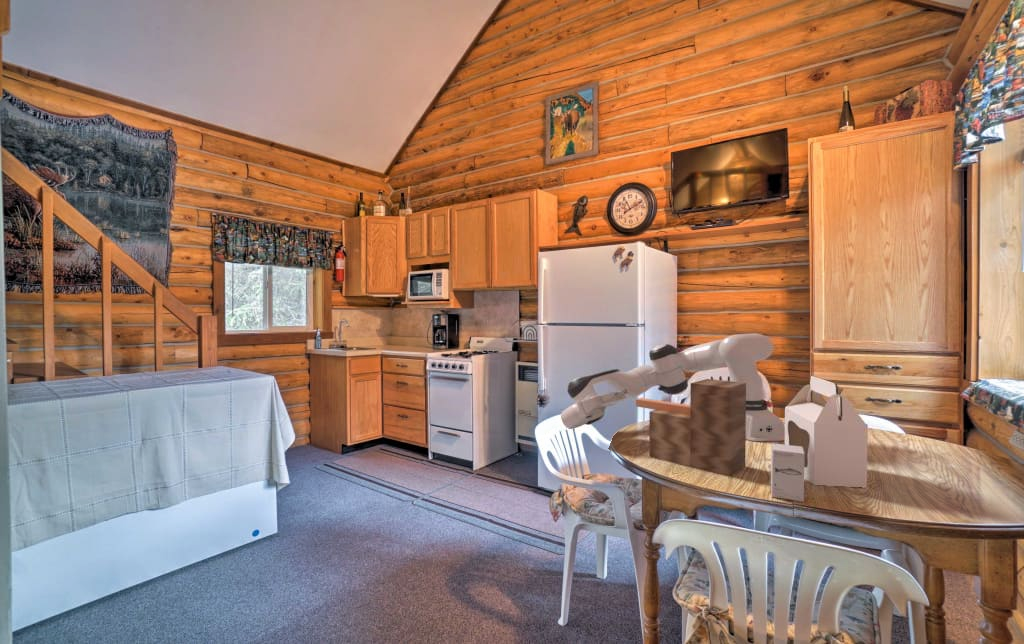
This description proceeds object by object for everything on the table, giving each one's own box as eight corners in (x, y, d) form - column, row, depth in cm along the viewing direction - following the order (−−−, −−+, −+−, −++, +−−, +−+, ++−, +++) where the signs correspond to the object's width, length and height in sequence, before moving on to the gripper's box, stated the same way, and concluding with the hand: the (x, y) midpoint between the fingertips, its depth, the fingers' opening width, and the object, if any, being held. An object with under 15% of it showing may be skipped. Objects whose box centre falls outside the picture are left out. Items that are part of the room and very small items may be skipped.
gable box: (867, 489, 128) (869, 386, 128) (813, 486, 131) (815, 384, 130) (829, 462, 150) (830, 374, 149) (784, 460, 153) (784, 373, 152)
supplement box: (771, 497, 123) (771, 449, 123) (770, 488, 130) (771, 442, 129) (804, 503, 120) (805, 453, 119) (802, 492, 126) (802, 445, 126)
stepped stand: (745, 466, 147) (745, 382, 146) (729, 476, 139) (730, 387, 138) (667, 449, 166) (667, 374, 165) (649, 456, 157) (649, 378, 157)
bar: (696, 413, 153) (696, 406, 153) (691, 415, 151) (691, 407, 151) (641, 405, 168) (641, 397, 168) (635, 406, 165) (635, 399, 165)
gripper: (612, 409, 187) (639, 396, 178) (580, 418, 172) (608, 404, 164) (606, 395, 189) (632, 380, 180) (573, 402, 175) (600, 387, 166)
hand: (620, 392), depth 172 cm, fingers open, 8 cm apart
